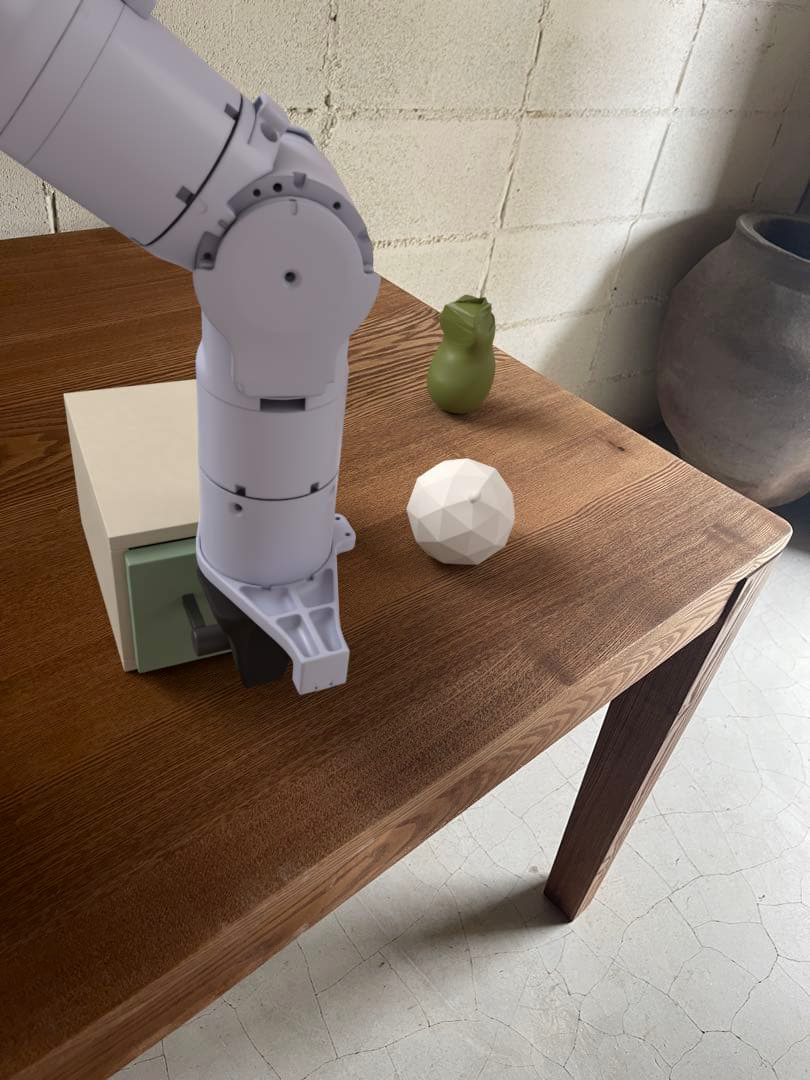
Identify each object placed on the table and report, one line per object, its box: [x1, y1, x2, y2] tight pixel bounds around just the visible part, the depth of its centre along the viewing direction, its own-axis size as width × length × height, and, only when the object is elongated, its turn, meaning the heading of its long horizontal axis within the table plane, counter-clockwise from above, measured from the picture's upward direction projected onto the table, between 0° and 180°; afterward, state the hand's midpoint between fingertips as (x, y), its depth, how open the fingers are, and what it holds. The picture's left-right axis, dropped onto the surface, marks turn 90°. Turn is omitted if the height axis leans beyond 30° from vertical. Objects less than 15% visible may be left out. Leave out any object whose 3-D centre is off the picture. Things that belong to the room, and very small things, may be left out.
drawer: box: [124, 536, 232, 674], centre depth 49 cm, size 16×11×8 cm, turn 25°
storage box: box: [63, 378, 200, 672], centre depth 52 cm, size 14×12×10 cm
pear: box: [426, 294, 497, 414], centre depth 71 cm, size 6×5×10 cm
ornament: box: [406, 457, 516, 566], centre depth 57 cm, size 7×7×8 cm
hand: (262, 678), depth 44 cm, fingers closed, pressing on drawer
